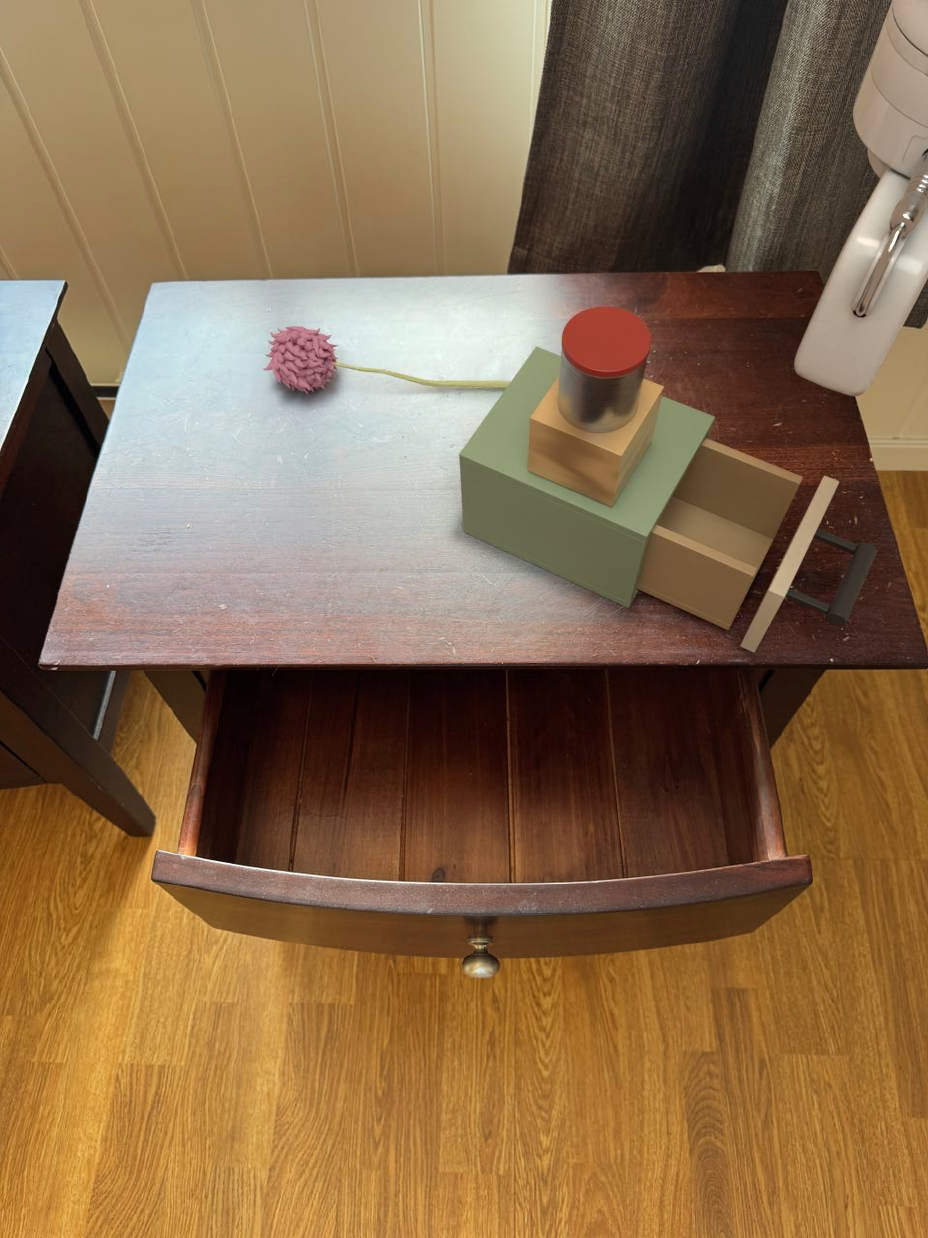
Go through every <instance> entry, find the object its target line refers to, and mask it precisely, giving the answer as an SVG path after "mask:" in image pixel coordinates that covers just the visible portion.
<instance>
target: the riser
mask: <svg viewBox="0 0 928 1238" xmlns="http://www.w3.org/2000/svg"><path fill="white" fill-rule="evenodd" d="M558 386H559V376H558V378H557V379H556V381H555V382H554V383H553V385H552V386H551V388H550V389H549V391H548V392H547V394H546V395H545V397H544V398H543V399H542V401H541V402H540V404H539V405H538V407H537V408H536V410H535V411H534V413H533V414H532V415H531V417H530V429H529V450H528V471H530V472H532V473H534V474H537V475H539V476H541V477H543V478H546V479H548V480H550V481H553V482H555V483H557V484H560V485H562V486H564V487H566V488H569V489H571V490H573V491H576V492H578V493H580V494H583V495H585V496H587V497H589V498H592V499H594V500H596V501H599V502H601V503H603V504H606V505H608V506H610V507H612V506H613V505H614V503H615V502H616V500H617V498H618V497H619V495H620V493H621V492H622V490H623V488H624V487H625V485H626V483H627V482H628V480H629V478H630V477H631V475H632V473H633V472H634V470H635V468H636V467H637V465H638V463H639V462H640V460H641V458H642V457H643V455H644V453H645V452H646V450H647V448H648V447H649V445H650V443H651V442H652V438H653V434H654V429H655V425H656V421H657V416H658V412H659V407H660V403H661V399H662V396H663V394H664V391H665V390H664V389H665V386H664V385H661V384H659V383H656V382H654V381H652V380H649V379H646V378H644V379H643V384H642V389H641V394H640V399H639V404H638V409H637V412H636V414H635V416H634V417H633V419H632V420H631V421H630V422H629V423H628V424H626V425H625V426H624V427H622V428H620V429H618V430H615V431H611V432H606V433H593V432H587V431H584V430H581V429H578V428H576V427H575V426H573V425H571V424H570V423H569V422H568V421H567V420H566V419H565V418H564V417H563V416H562V414H561V412H560V411H559V408H558V403H557V398H558Z"/></svg>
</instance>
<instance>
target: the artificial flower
mask: <svg viewBox="0 0 928 1238" xmlns="http://www.w3.org/2000/svg"><path fill="white" fill-rule="evenodd" d="M284 328H285V329H283V330H281V329H280V328H279V327H277V333H273V332H271V331H269V334H270V336H271V337H272V338H273V339H274V340H272V341H271V340H268V339H267V342H268V344H269V345H271V348H270V352H269V353H268V354H264V356H265V357H266V358H271V359H270V362H269V363H268V364H267V367H265V368H262V370H263V371H272V372H273V375H274V379H275V380H277V381H278V383H280V384H281V383H283V384H284V385H285V386H287V388H288V389H289V390H291V391H292V392H294V391H295V389H298V391H299V392H301V393H305V394H306V395H309V392H310V391H311V392H312V393H314V388H315V389H316V390H319V388H322V389H323V390H326V387H325V385H326V386H328V384H327V383H326V382H328V383H331V380H330V379H329V378H335V377H336V376H335V375H334V374H332V373H336V371H338V369H337V367H340V368H344V369H350V370H354V371H358V372H365V373H374V374H375V373H376V374H382V375H387V376H391V377H393V378H398V379H400V380H404V381H407V382H410V383H415V384H419V385H421V386H428V387H435V388H436V387H438V388H480V389H481V388H482V389H485V388H487V389H504V390H505V389H506V388H507V387H508V385H509V384H510V382H511V381H505V380H433V379H424V378H420V377H415V376H412V375H409V374H404V373H399V372H396V371H391V370H387V369H383V368H372V367H360V366H353V365H350V364H349V365H348V364H345V363H339V362H337V360H338V359H339V357H336V355H335V352H334V351H336V349H335V348H336V347H339V345H338V344H332V343H329V342H328V341H327V340H329V339H330V338H331V337H332V334H328V335H326V334H324V333H320V332H321V327H318V328H317V329H310V328H306V327H304V326H296V325H292V326H285V327H284ZM335 370H336V371H335ZM308 391H309V392H308Z"/></svg>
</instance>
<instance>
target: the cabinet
mask: <svg viewBox="0 0 928 1238" xmlns="http://www.w3.org/2000/svg"><path fill="white" fill-rule="evenodd" d="M560 363H561V355H560V354H557V353H554V352H552V351H549V350H547V349H545V348H542V347H539V346H534V349H533V350H532V352H531V353H530V354H529V355H528V357H527V359H526V360H525V361H524V362H523V364H522V365H521V367H520V368H519V370H518V371H517V372H516V374H515V375H514V377H513V378H512V379H511V381H509V382H510V384H509V385H508V387H507V388H506V389H505V388H504V390H503V392H502V394H500V396H499V398H498V399H497V401H496V402H495V403H494V405H493V406H492V407H491V409H490V410H489V412H488V413H487V415H486V416H485V417H484V419H482V421H481V423H480V424H479V426H478V427H477V429H475V431H474V433H473V434H472V436H471V437H470V438H469V440H468V441H467V443H466V444H465V445H464V447H463V448H462V449H461V451H460V452H459V453H458V458H459V459H458V460H459V475H460V476H459V477H460V491H461V492H460V493H461V495H460V496H461V508H462V509H461V511H462V529H463V533H466V534H467V535H469V536H471V537H474V538H476V539H478V540H480V541H483V542H484V543H487V544H488V545H490V546H493V547H496V548H497V549H499V550H502V551H504V552H506V553H508V554H511V555H513V556H514V557H517V558H519V559H521V560H523V561H525V562H527V563H530V564H532V565H534V566H536V567H539V568H541V569H543V570H545V571H547V572H549V573H551V574H554V575H556V576H558V577H560V578H562V579H565V580H567V581H568V582H570V583H573V584H575V585H578V586H580V587H582V588H584V589H586V590H588V591H591V592H593V593H595V594H597V595H598V596H601V597H604V598H606V599H607V600H609V601H611V602H614V603H616V604H619V605H620V606H623V607H625V608H627V609H630V607H631V605H632V603H633V601H634V600H635V598H636V596H637V594H638V593H639V591H640V590H639V589H637V588H636V586H637V582H638V578H639V575H640V571H641V567H642V563H643V559H644V555H645V552H646V548H647V544H648V540H649V536H650V534H651V532H652V530H653V529H654V527H655V525H656V523H657V522H658V520H659V518H660V516H661V515H662V513H663V511H664V509H665V508H666V506H667V504H668V502H669V501H670V499H671V497H672V495H673V494H674V492H675V490H676V488H677V487H678V485H679V483H680V481H681V480H682V478H683V476H684V474H685V473H686V471H687V469H688V467H689V466H690V464H691V462H692V460H693V459H694V457H695V455H696V453H697V452H698V450H699V448H700V446H701V445H702V443H703V441H704V439H705V438H707V439H710V436H711V434H712V429H713V426H714V424H715V420H716V416H715V415H712V414H709V413H706V412H705V411H701V410H699V409H696V408H694V407H692V406H689V405H687V404H683V403H681V402H678V401H676V400H673V399H671V398H669V397H666V396H663V395H662V399H661V403H660V407H659V412H658V416H657V421H656V425H655V429H654V434H653V438H652V442H651V443H650V445H649V447H648V448H647V450H646V452H645V453H644V455H643V457H642V458H641V460H640V462H639V463H638V465H637V467H636V468H635V470H634V472H633V473H632V475H631V477H630V478H629V480H628V482H627V483H626V485H625V487H624V488H623V490H622V492H621V493H620V495H619V497H618V498H617V500H616V502H615V503H614V505H613V506H612V507H610V506H608V505H606V504H603V503H601V502H599V501H596V500H594V499H592V498H589V497H587V496H585V495H583V494H580V493H578V492H576V491H573V490H571V489H569V488H566V487H564V486H562V485H560V484H557V483H555V482H553V481H550V480H548V479H546V478H543V477H541V476H539V475H537V474H534V473H532V472H530V471H528V450H529V429H530V417H531V415H532V414H533V413H534V411H535V410H536V408H537V407H538V405H539V404H540V402H541V401H542V399H543V398H544V397H545V395H546V394H547V392H548V391H549V389H550V388H551V386H552V385H553V383H554V382H555V381H556V379H557V378H558V376H559V375H560Z"/></svg>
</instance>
